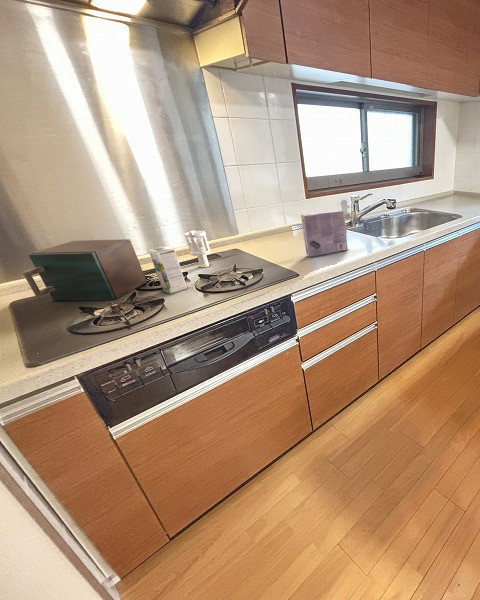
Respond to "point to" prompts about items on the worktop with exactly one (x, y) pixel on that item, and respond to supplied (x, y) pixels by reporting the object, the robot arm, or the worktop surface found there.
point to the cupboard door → (69, 276)
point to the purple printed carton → (324, 233)
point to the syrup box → (168, 269)
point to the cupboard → (109, 261)
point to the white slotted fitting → (198, 246)
